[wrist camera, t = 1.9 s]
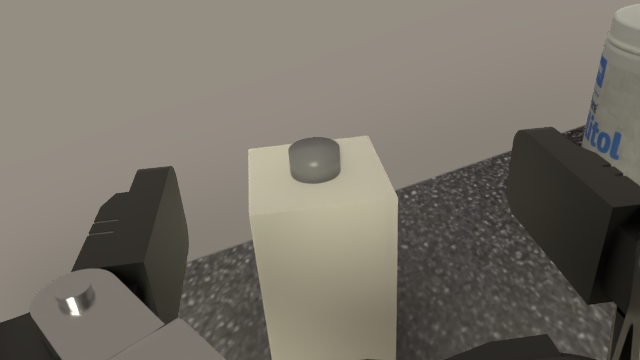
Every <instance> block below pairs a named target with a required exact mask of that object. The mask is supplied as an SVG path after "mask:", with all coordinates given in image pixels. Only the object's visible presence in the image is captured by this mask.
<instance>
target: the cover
mask: <svg viewBox="0 0 640 360" xmlns="http://www.w3.org/2000/svg"><path fill="white" fill-rule="evenodd" d="M248 163H249V165H248V166H249V167H248V168H249V219H250V225H251V231H252V237H253V244H254V250H255V256H256V263H257V269H258V275H259V281H260V288H261V294H262V300H263V307H264V313H265V319H266V325H267V332H268V338H269V344H270V350H271V357H272V360H363V359H375V360H396V318H397V238H398V197H397V195H396V193H395V191H394V189H393V186H392V184H391V182H390V180H389V178H388V176H387V174H386V172H385V170H384V168H383V166H382V164H381V162H380V160H379V158H378V155H377V154H376V151H375V149H374V147H373V145H372V143H371V141H370V139H369V137H368V136H359V137H350V138H341V139H333V140H331V139H328V138H322V137H313V138H306V139H302V140H299V141H297V142H295V143H293V144H289V145H280V146H271V147H262V148H253V149H248Z"/></svg>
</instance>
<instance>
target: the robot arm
mask: <svg viewBox="0 0 640 360" xmlns="http://www.w3.org/2000/svg"><path fill="white" fill-rule="evenodd" d="M507 200H508V204H509V207H510V209H511V211H512V213H513V214H514V216H515V217H516V218H517V219H518V220H519V222H520V223H521V224H522V225H523V227H524V228H525V229H526V230H527V231H528V233H529V234H530V235H531V236H532V237H533V239H534V240H535V241H536V242H537V244H538V245H539V246H540V247H541V248H542V250H543V251H544V252H545V253H546V255H547V256H548V257H549V258H550V259H551V261H552V262H553V263H554V264H555V265H556V267H557V268H558V269H559V270H560V272H561V273H562V274H563V275H564V276H565V278H566V279H567V280H568V281H569V283H570V284H571V285H572V286H573V287H574V289H575V290H576V291H577V292H578V294H579V295H580V296H581V297H582V298H583V300H584V301H585V302H586V303H587V304H588V305H590V304H597V303H605V302H612V301H614V303H615V304H616V309H615V312H614V315H613V319H612V325H611V333H610V340H609V347H608V354H607V360H640V186H639V185H638V184H637V183H636V182H634V181H633V180H632V179H630V178H629V177H628V176H623V173H622V172H621V171H620V170H618V169H617V168H616V167H614V166H613V167H611V164H610V163H609V162H608V161H606V160H605V159H604V158H602V157H601V156H600V155H598V154H597V153H595V152H593V151H590V150H588V149H585V148H583V147H581V146H578V145H576V144H574V143H573V142H571V141H570V140H569V139H568V138H566V137H565V136H564V135H562V134H561V133H560V132H559V131H557V130H556V129H555V128H553V127H544V128H535V129H526V130H519V131H518V132H517V133H516V135H515V137H514V141H513V147H512V154H511V162H510V169H509V176H508V183H507ZM188 244H189V241H188V230H187V224H186V219H185V214H184V210H183V205H182V200H181V196H180V191H179V187H178V182H177V178H176V174H175V171H174V168H173V167H172V166H169V167H158V168H149V169H139V170H138V171H137V173H136V175H135V178H134V180H133V183H132V186H131V188H130V191H129V192H125V193H116V194H115V195H114V196H113V197H111V198H110V199H109V200H108V201H107V202H106V203H105V204H104V205H102V206H101V208H100V210H99V212H98V214H97V216H96V218H95V221H94V224H93V225H92V227H91V230H90V232H89V236H87V238H86V240H85V243H84V245H83V247H82V249H81V251H80V254H79V256H78V258H77V260H76V262H75V264H74V266H73V269H72V271H71V273H68V274H65V275H63V276H60V277H58V278H57V279H55V280H53V281H51V282H50V283H48V284H47V285H46V286H44V287H43V288H42V289H41V290H40V291H39V292H38V293H37V294H36V296H35V297H34V298H33V300H32V302H31V305H30V312H29V313H27V314H24V315H22V316H19V317H16V318H13V319H10V320H7V321H4V322H1V323H0V360H226V359H225V358H224V357H223V356H222V355H221V354H219V353H218V352H217V351H216V350H215V349H214V348H213V347H212V346H211V345H210V344H209V343H208V342H207V341H205V340H204V339H203V338H202V337H201V336H200V335H199V334H198V333H197V332H196V331H195V330H194V329H192V328H191V327H190V326H189V325H188V324H187V323H186V322H185V321H183V320H182V319H180V318H178V312H179V305H180V299H181V293H182V287H183V280H184V274H185V268H186V262H187V255H188V247H189V245H188ZM363 360H375V359H363ZM445 360H596V359H592V358H588V357H584V356H579V355H573V354H567V353H560V352H559V351H558V349H557V348H556V346H555V345H554V343H553V342H552V340H551V339H550V337H549V336H548V335H547V334H544V335H537V336H530V337H523V338H515V339H508V340H501V341H494V342H489V343H486V344H483V345H481V346H478V347H476V348H473V349H471V350H468V351H465V352H463V353H460V354H458V355H455V356H453V357H450V358H448V359H445Z"/></svg>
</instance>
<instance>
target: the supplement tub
mask: <svg viewBox="0 0 640 360" xmlns="http://www.w3.org/2000/svg"><path fill="white" fill-rule="evenodd" d="M581 147H583V148H585V149H588V150H590V151H593V152H595V153H597V154H598V155H600V156H601V157H602V158H604V159H605V160H606V161H608V162H609V163H610V164H611V167H613V166H614V167H616V168H617V169H618V170H620V171H621V172H622V173H623V176H628V177H629V178H630V179H632V180H633V181H634V182H636V183H637V184H638V185H639V186H640V4H634V5H630V6H626V7H623V8H621V9H619V10H618V11H617V12H615V14H614V17H613V20H612V24H611V28H610V30H609V31H608V33H607V38H606V40H605V44H604V49H603V52H602V57H601V61H600V66H599V71H598V75H597V79H596V84H595V88H594V93H593V97H592V101H591V106H590V110H589V115H588V120H587V124H586V128H585V133H584V137H583V142H582V146H581Z"/></svg>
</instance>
